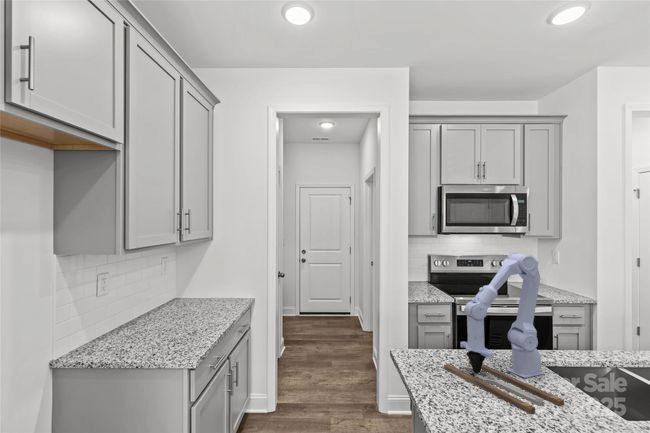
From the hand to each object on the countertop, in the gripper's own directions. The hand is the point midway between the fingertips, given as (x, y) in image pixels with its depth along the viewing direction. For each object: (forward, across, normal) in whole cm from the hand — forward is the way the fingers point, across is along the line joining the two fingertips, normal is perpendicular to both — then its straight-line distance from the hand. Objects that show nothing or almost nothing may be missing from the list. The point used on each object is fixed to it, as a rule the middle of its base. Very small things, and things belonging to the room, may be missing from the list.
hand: (476, 372), depth 136 cm
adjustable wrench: (+1, +13, 0) cm, 13 cm away
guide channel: (+1, +9, 0) cm, 9 cm away
